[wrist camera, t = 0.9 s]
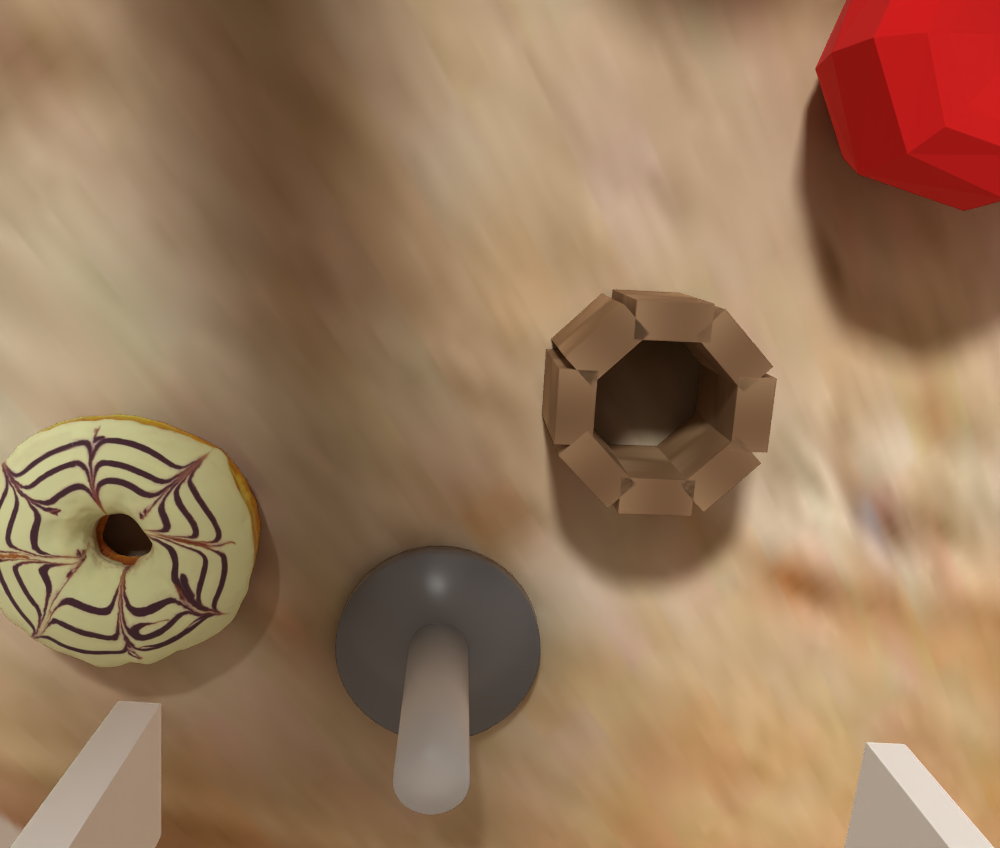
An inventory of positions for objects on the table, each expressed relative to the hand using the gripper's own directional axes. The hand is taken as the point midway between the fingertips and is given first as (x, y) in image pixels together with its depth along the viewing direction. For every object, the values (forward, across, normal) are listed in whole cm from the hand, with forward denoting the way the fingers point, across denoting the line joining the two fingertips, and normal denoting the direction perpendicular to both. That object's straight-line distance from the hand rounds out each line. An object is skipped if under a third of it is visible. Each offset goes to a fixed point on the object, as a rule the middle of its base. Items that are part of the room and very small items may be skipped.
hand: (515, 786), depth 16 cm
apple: (+22, +16, +18) cm, 32 cm away
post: (+21, -1, -8) cm, 23 cm away
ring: (+21, +6, +4) cm, 23 cm away
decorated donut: (+22, -15, -4) cm, 26 cm away
